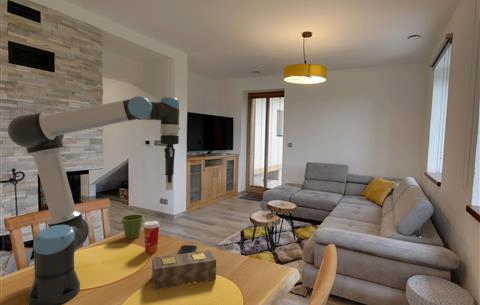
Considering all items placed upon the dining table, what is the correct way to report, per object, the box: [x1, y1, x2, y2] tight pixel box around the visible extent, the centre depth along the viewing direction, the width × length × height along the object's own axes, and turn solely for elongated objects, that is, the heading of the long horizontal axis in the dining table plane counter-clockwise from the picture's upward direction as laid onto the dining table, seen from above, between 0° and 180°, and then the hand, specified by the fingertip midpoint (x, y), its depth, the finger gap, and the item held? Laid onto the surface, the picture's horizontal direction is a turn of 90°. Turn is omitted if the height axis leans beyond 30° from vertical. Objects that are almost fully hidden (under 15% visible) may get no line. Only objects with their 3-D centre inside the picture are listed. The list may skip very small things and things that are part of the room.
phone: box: [177, 244, 198, 254], centre depth 133 cm, size 8×1×15 cm
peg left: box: [162, 257, 176, 265], centre depth 107 cm, size 5×5×7 cm
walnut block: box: [151, 249, 217, 291], centre depth 109 cm, size 24×10×8 cm, turn 111°
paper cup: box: [142, 220, 160, 254], centre depth 134 cm, size 8×8×14 cm
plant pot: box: [120, 213, 145, 240], centre depth 151 cm, size 12×12×11 cm
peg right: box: [192, 253, 206, 261], centre depth 112 cm, size 5×5×7 cm
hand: (169, 189), depth 116 cm, fingers closed
